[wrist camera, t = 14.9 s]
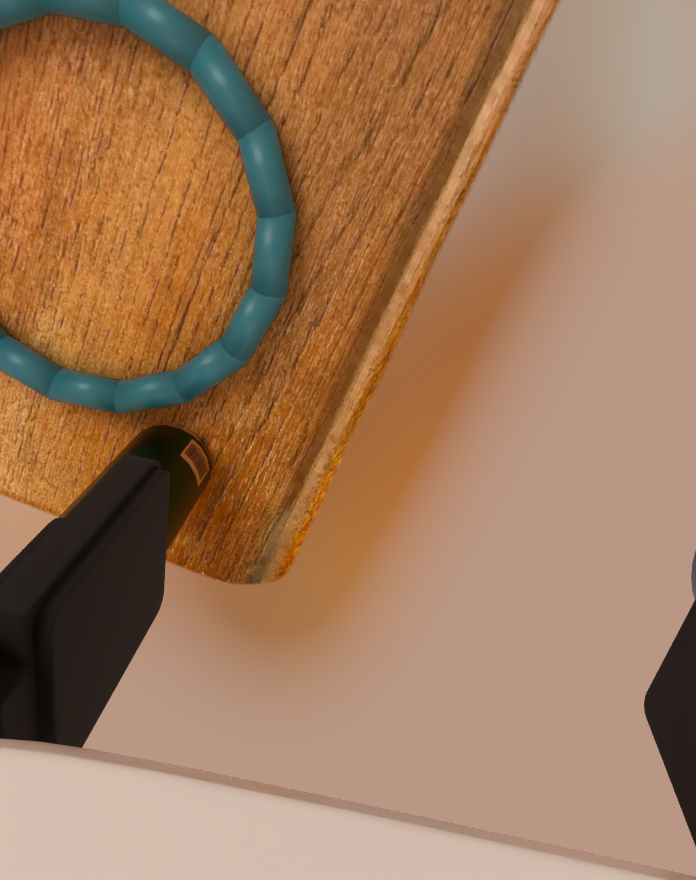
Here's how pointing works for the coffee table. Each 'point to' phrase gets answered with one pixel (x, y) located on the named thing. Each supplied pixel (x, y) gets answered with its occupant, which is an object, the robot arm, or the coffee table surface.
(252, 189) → the ring
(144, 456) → the beer can
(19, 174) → the coffee table surface
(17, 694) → the robot arm
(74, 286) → the coffee table surface
